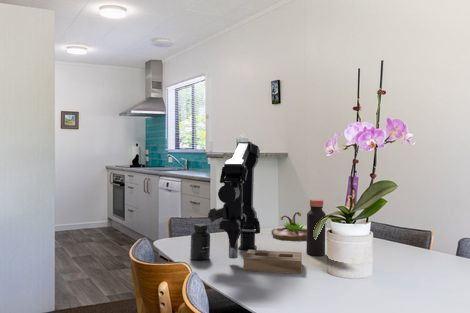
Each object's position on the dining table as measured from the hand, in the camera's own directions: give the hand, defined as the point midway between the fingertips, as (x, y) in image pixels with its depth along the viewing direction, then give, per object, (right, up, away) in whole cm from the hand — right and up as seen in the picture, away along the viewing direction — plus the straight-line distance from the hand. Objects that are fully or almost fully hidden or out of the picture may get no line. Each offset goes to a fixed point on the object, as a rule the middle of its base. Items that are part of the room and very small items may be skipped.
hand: (233, 246), depth 148 cm
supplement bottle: (-12, -6, +7) cm, 15 cm away
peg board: (+13, -6, -3) cm, 15 cm away
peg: (0, -4, 0) cm, 4 cm away
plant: (+27, -6, +51) cm, 58 cm away
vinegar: (+30, -6, +16) cm, 35 cm away
